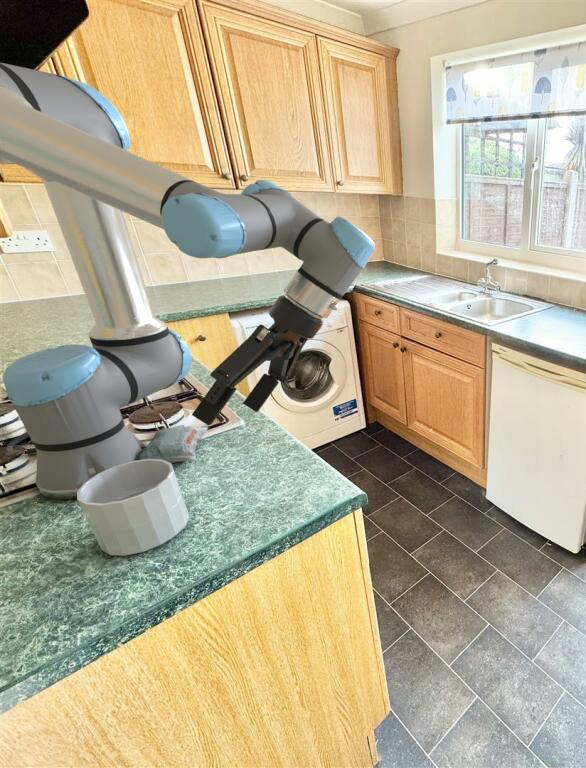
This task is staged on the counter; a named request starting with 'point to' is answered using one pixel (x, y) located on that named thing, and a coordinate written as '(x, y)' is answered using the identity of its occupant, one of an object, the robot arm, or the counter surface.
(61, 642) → the counter surface
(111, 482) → the grey faceted pot
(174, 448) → the packaged food
